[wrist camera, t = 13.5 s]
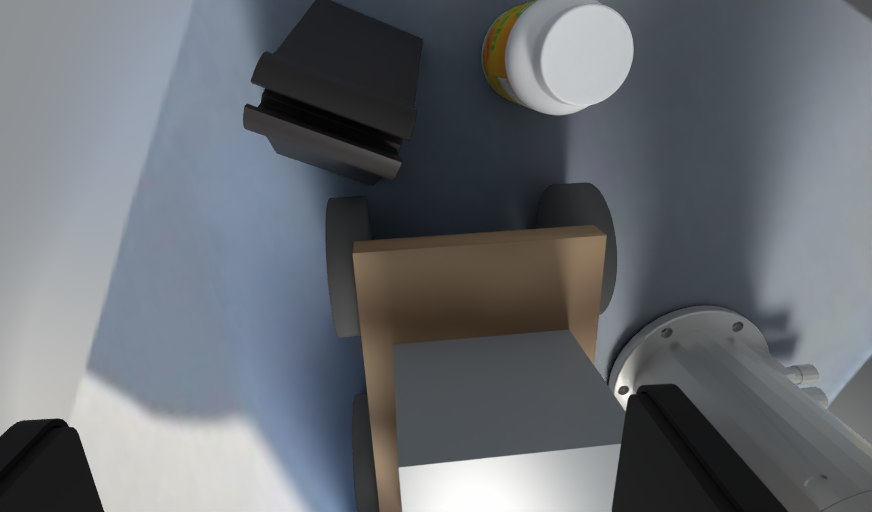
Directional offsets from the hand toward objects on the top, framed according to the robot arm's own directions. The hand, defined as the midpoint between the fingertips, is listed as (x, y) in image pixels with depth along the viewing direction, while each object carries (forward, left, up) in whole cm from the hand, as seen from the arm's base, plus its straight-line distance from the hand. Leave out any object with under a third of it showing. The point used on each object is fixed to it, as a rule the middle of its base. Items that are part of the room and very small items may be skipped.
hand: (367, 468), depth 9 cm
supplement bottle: (-9, -6, -25) cm, 27 cm away
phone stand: (+1, -4, -25) cm, 25 cm away
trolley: (-5, +12, -24) cm, 27 cm away
